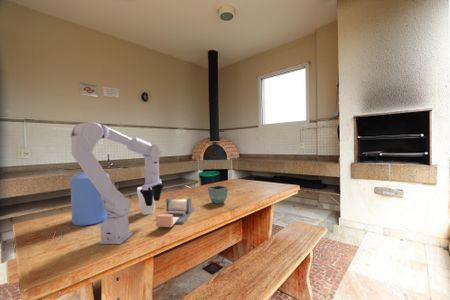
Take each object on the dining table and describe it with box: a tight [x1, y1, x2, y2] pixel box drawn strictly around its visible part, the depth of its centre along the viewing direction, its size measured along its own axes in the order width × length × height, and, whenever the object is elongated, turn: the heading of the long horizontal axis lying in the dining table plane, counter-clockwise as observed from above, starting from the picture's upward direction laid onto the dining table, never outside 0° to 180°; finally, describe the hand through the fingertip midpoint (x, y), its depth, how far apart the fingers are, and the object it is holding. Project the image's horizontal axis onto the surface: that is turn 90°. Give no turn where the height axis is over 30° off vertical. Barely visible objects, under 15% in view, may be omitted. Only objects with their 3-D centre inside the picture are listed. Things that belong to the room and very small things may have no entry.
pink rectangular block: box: [156, 213, 179, 228], centre depth 89 cm, size 10×6×4 cm, turn 174°
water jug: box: [69, 170, 111, 227], centre depth 97 cm, size 16×16×28 cm
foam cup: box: [136, 186, 156, 216], centre depth 106 cm, size 10×9×13 cm
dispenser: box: [165, 196, 195, 225], centre depth 101 cm, size 20×12×8 cm, turn 174°
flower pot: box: [207, 185, 229, 205], centre depth 122 cm, size 9×9×9 cm
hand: (153, 203), depth 90 cm, fingers open, 7 cm apart
